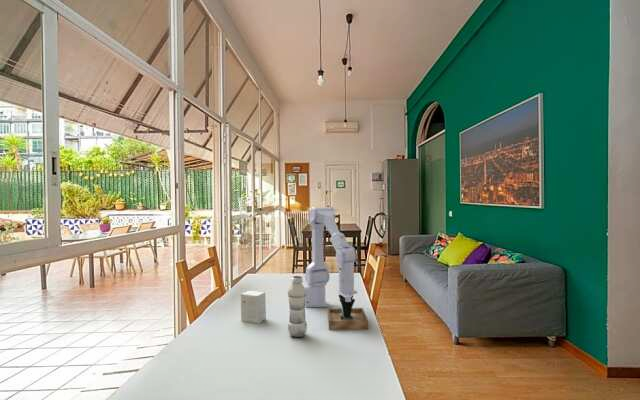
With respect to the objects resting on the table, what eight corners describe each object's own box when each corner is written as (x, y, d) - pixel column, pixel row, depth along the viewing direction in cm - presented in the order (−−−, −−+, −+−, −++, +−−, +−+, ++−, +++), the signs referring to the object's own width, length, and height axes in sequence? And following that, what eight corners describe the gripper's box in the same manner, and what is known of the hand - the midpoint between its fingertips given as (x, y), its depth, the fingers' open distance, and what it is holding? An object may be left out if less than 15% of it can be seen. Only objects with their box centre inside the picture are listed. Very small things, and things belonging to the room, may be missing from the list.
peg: (342, 321, 129) (341, 305, 129) (341, 318, 132) (341, 303, 132) (351, 321, 129) (350, 305, 129) (350, 318, 132) (350, 302, 132)
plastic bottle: (292, 340, 114) (292, 280, 114) (285, 333, 120) (284, 276, 120) (310, 336, 117) (309, 277, 117) (302, 330, 123) (301, 274, 123)
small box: (266, 319, 135) (266, 292, 135) (257, 323, 130) (257, 295, 130) (249, 316, 138) (249, 290, 138) (240, 320, 133) (240, 293, 133)
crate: (328, 329, 123) (328, 320, 123) (327, 316, 137) (327, 308, 137) (367, 329, 124) (367, 320, 124) (362, 316, 138) (362, 308, 138)
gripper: (359, 284, 123) (359, 322, 123) (354, 275, 138) (355, 309, 138) (339, 284, 123) (339, 322, 123) (337, 275, 138) (337, 309, 138)
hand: (346, 315), depth 131 cm, fingers closed on peg, 3 cm apart
